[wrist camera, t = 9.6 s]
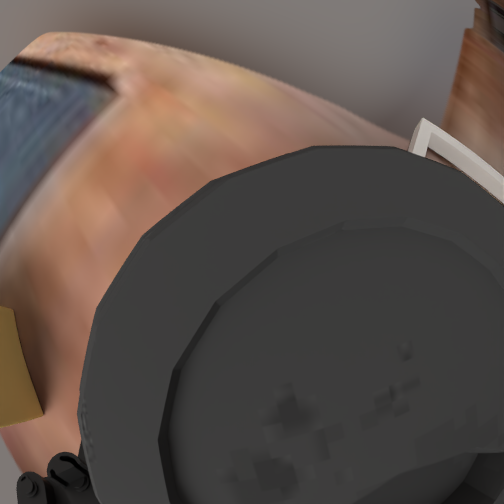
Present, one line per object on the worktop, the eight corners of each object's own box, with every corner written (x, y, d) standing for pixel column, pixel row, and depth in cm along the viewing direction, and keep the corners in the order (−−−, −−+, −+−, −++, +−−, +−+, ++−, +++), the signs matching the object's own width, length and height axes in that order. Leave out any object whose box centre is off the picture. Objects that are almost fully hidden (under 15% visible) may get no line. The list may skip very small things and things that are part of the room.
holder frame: (526, 215, 23) (537, 208, 21) (498, 361, 19) (512, 361, 17) (414, 129, 25) (422, 117, 23) (358, 276, 21) (367, 270, 19)
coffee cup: (220, 464, 16) (163, 647, 1) (176, 296, 19) (5, 183, 4) (390, 415, 16) (570, 486, 2) (348, 253, 19) (494, 95, 5)
